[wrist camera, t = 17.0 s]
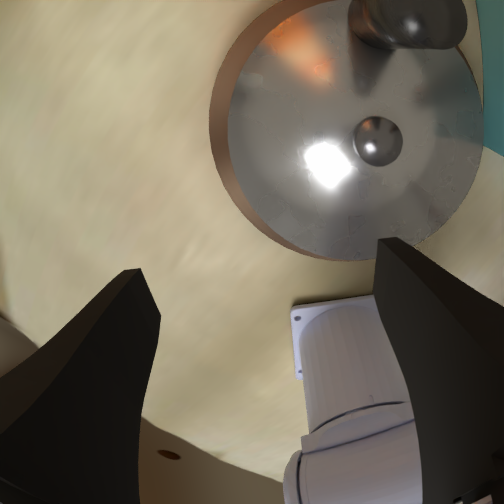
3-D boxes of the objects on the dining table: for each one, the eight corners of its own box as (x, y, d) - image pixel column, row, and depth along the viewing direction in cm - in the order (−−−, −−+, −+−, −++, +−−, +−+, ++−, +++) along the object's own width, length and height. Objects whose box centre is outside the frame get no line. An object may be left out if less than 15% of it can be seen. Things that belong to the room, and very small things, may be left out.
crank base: (457, 236, 19) (466, 245, 18) (238, 264, 21) (238, 277, 20) (466, 9, 11) (478, 8, 10) (188, 5, 12) (183, 1, 11)
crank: (448, 247, 18) (492, 304, 13) (237, 254, 18) (233, 329, 14) (480, 27, 10) (552, 33, 5) (221, -12, 10) (203, -53, 6)
